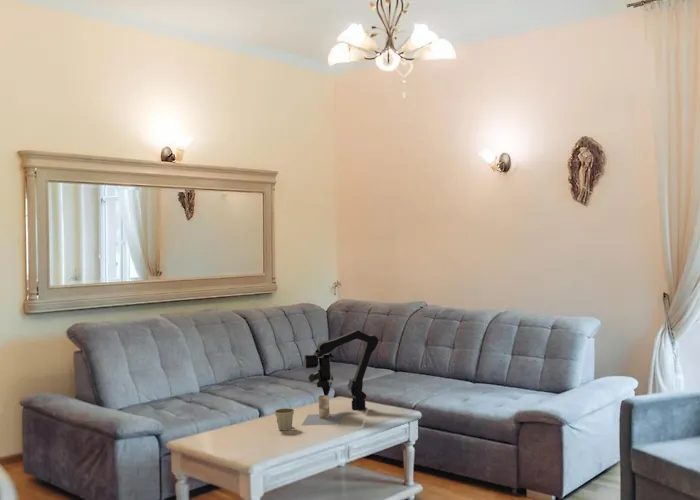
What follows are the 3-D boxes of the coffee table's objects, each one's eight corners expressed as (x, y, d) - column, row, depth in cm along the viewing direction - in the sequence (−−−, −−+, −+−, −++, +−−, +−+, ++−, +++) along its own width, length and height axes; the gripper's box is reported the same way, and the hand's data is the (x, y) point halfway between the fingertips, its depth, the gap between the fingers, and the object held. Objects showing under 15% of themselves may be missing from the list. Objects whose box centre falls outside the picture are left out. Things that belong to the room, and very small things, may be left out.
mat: (343, 415, 348) (343, 413, 348) (339, 425, 328) (339, 424, 328) (308, 415, 349) (308, 414, 349) (301, 426, 329) (301, 425, 329)
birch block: (329, 415, 346) (328, 395, 345) (328, 417, 341) (327, 397, 341) (320, 415, 346) (319, 395, 346) (319, 417, 341) (318, 397, 341)
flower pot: (294, 431, 321) (293, 412, 321) (273, 432, 322) (273, 413, 322) (296, 426, 331) (295, 407, 331) (276, 426, 331) (275, 408, 331)
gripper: (311, 364, 362) (313, 394, 362) (306, 370, 344) (307, 402, 344) (333, 363, 361) (334, 393, 361) (328, 370, 343) (329, 401, 343)
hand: (326, 397), depth 352 cm, fingers closed
